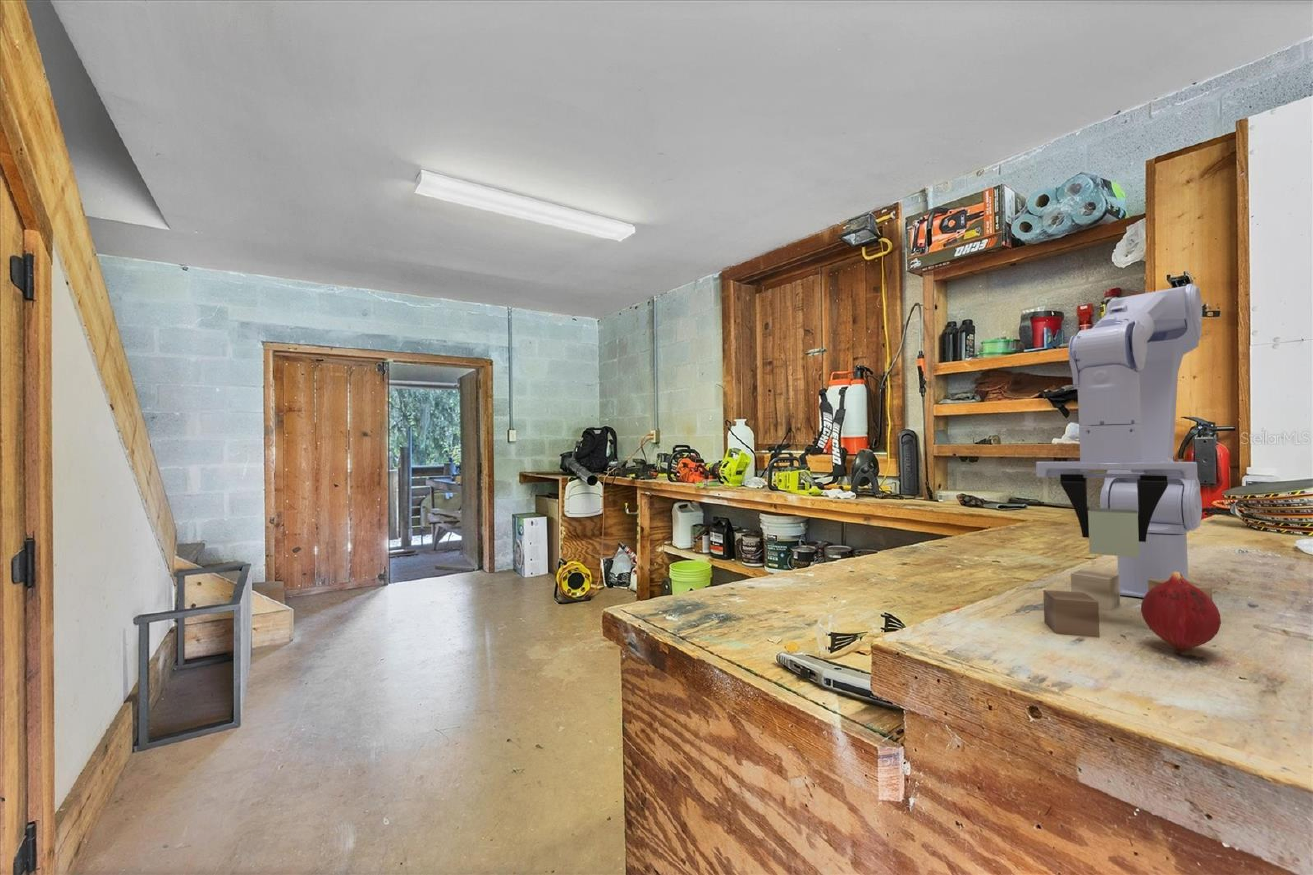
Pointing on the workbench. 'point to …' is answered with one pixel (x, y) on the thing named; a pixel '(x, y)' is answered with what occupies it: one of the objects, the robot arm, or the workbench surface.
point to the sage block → (1113, 532)
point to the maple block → (1097, 587)
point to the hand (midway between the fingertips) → (1113, 538)
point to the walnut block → (1071, 613)
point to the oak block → (1205, 589)
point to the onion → (1180, 613)
